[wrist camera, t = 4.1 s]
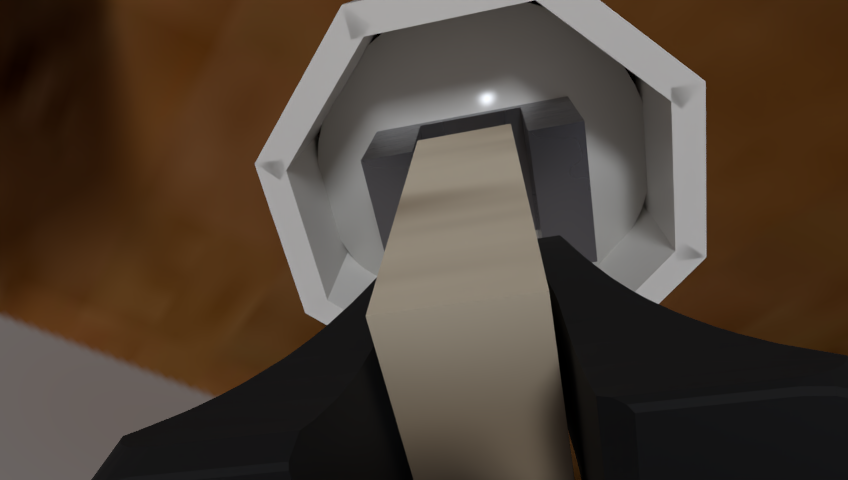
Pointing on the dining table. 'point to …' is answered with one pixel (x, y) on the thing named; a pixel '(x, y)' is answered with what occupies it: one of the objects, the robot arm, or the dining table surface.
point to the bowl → (478, 92)
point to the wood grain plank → (470, 319)
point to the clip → (538, 155)
